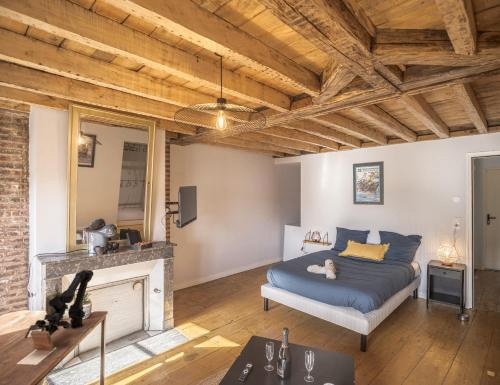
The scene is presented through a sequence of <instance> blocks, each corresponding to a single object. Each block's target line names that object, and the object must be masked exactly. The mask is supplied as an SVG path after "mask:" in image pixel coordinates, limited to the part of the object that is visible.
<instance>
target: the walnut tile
mask: <svg viewBox="0 0 500 385" xmlns="http://www.w3.org/2000/svg"><path fill="white" fill-rule="evenodd" d="M30 334H31V339H32V341H33V342H32V343H33V345H34V347H35V350H36V349H37V350H53V349H54V348H56V347H55V345H54V342H53V340H52V337H51V336H52V335H51V336H50V333H49V331H46V330H44V331H32V332H31V333H30Z"/></svg>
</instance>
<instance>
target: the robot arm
mask: <svg viewBox="0 0 500 385" xmlns="http://www.w3.org/2000/svg"><path fill="white" fill-rule="evenodd" d="M93 277H94V271H93V270H92V269H91V270H90V269H89V270H88V269H82V270H81V271H78V272H76V273H75V276H74V277H73V279H72V281H71V283H70V285H68V288H66V289H65V290H64V291H62V292H61V293H62V294H61V295H60V296H56V297H55V298H53V299H51V300H50V302H49V305H50V306H51V307H52V308H53V309H54V310H55V311H54V313H51V315H49V314H47V313H46V314H45V316H44V318H43V319H38V320H36V321H35V323H34V325H36V326H38V327H39V328H45V329H44V330H45V331H49V333H50V336H52V335H53V334H54V333H56V332H57V331H58V330H60V327H63V329H64V330H69V329H70V327H71V328H72V329H77V328H79V327H82V326H84V325H83V318H85V315H86V312H85V311H84V306H83V301H84V298H85V295H86V290H87V288H88V283H89V282H90V281H91V280H92V279H93ZM76 291H77V292H76ZM75 292H76V293H77V294H76V296H75ZM74 297H75V299H74ZM73 300H74V303H72V302H73ZM64 303H66V304H64ZM71 303H72V304H71ZM68 304H70V306H68ZM68 309H69V310H68ZM66 310H68V311H67V312H68V314H67V315H68V319H70V320H69V321H67V320H61V318H62V319H63V318H64V315H65V314H64V312H65V313H66Z"/></svg>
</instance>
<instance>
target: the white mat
mask: <svg viewBox="0 0 500 385" xmlns="http://www.w3.org/2000/svg"><path fill="white" fill-rule="evenodd" d="M56 349H57V347H55V348H54V349H53V350H37V349H36V348H35V349H34V350H33V351H32V352H30V353H29V354H28V355H26V356H25V357H24V358H23V357H22V359H21V360H20V361H18V362H17V363H16V365H34V366H35V365H38V364H39V363H41V362H42V361H43V360H44V359H45V358H46V357H48V356H49V355H50V354H52V352H54V351H55V350H56Z"/></svg>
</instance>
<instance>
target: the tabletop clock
mask: <svg viewBox="0 0 500 385" xmlns="http://www.w3.org/2000/svg"><path fill="white" fill-rule="evenodd" d="M54 288H55V291H54V292H53V293H52V294H49V295H47V296H46V300H45V313H46V314H49V315H51V313H54V311H55V310H54V309H53V308H52V307H51V306H50V305H49V302H50V300H51V299H53V298H55V297H56V296H60V295H61V294H62V293H63V292H60V290H59V286H58V284H56V285H55V287H54ZM64 304H66V305H67V303H64ZM65 314H66V311H65V312H64V314H63V315H65ZM60 321H63V318H61V320H60Z"/></svg>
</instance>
